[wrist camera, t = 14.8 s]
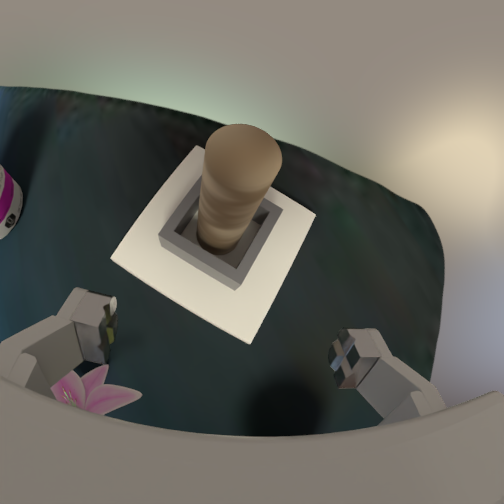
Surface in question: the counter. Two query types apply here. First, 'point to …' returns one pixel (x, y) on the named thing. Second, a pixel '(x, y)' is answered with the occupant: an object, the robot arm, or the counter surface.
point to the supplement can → (9, 202)
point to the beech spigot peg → (234, 184)
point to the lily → (93, 392)
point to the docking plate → (208, 265)
